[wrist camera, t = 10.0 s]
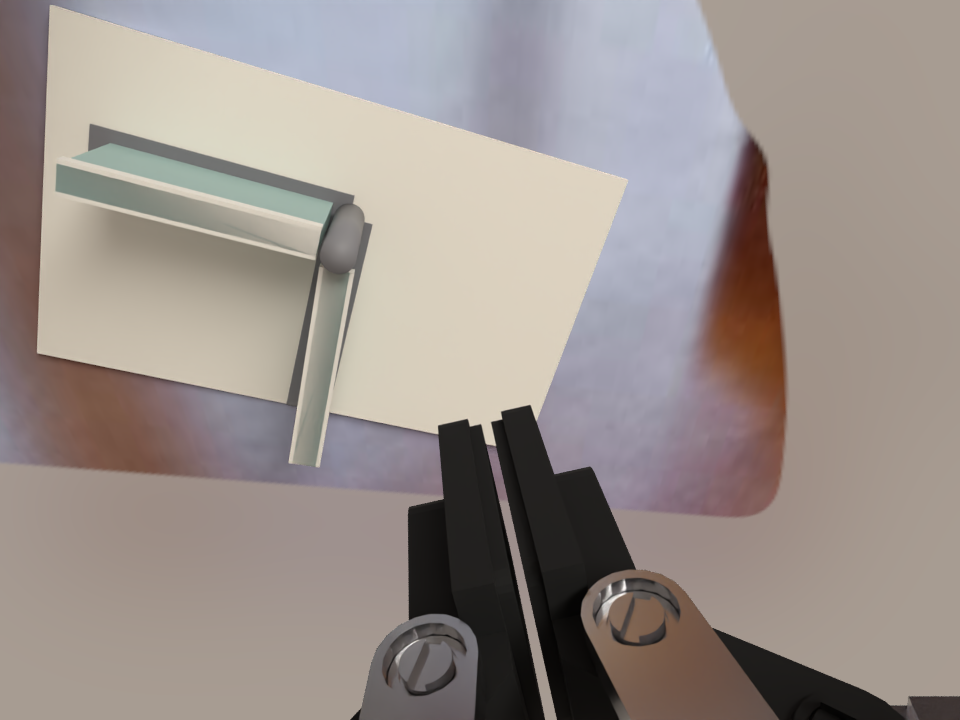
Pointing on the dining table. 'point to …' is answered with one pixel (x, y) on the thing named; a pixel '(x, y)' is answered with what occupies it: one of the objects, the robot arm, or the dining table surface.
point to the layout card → (292, 279)
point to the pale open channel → (320, 365)
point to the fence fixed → (212, 203)
